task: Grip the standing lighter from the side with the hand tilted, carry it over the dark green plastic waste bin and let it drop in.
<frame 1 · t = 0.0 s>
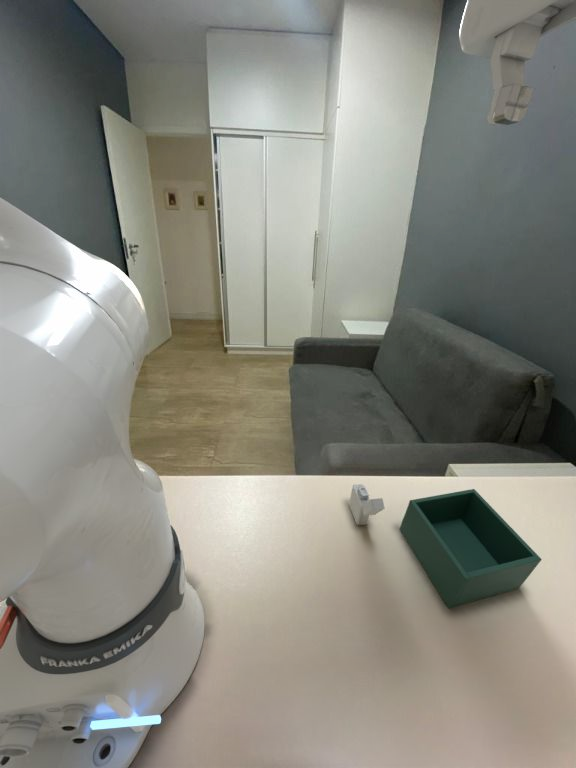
hand: (573, 104, 17), 48 cm above the table, tool pointing down, fingers open, 8 cm apart
bin: (454, 556, 44), on the table
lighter: (360, 522, 49), on the table
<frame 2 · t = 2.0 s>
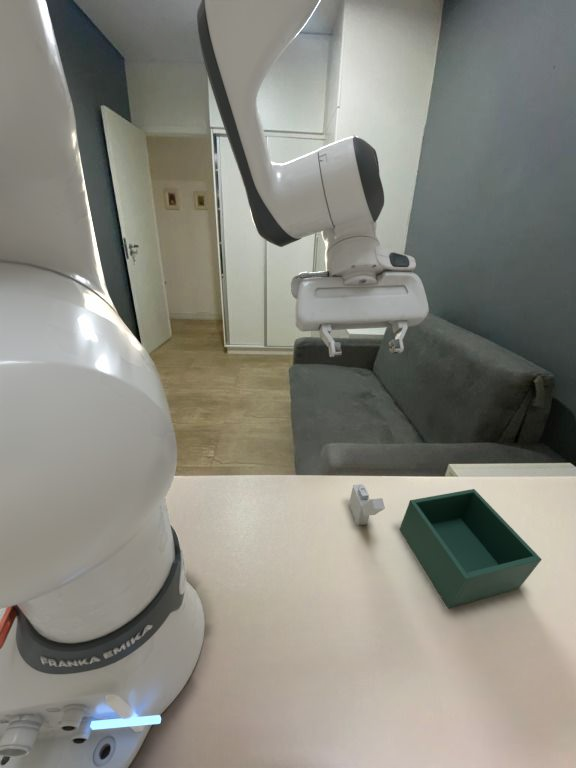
hand: (366, 354, 46), 24 cm above the table, tool tilted 45°, fingers open, 8 cm apart
nothing on the table moved.
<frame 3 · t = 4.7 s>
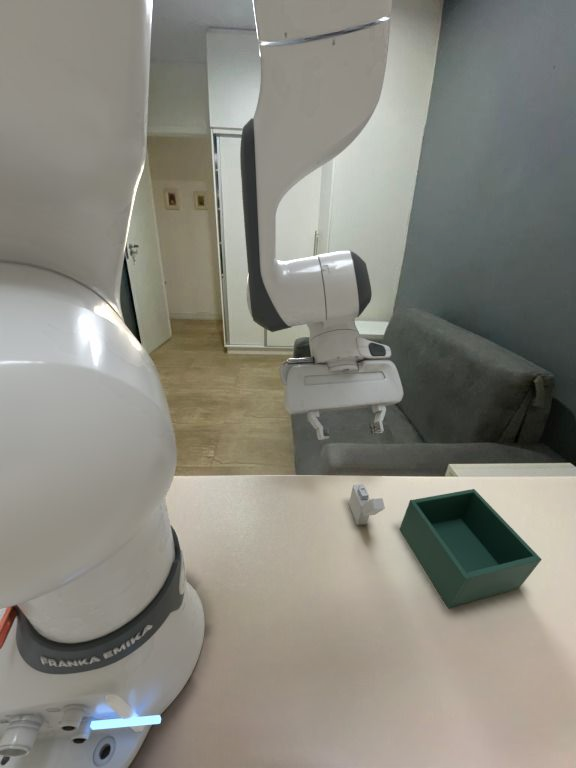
hand: (351, 436, 50), 11 cm above the table, tool tilted 45°, fingers open, 8 cm apart
nothing on the table moved.
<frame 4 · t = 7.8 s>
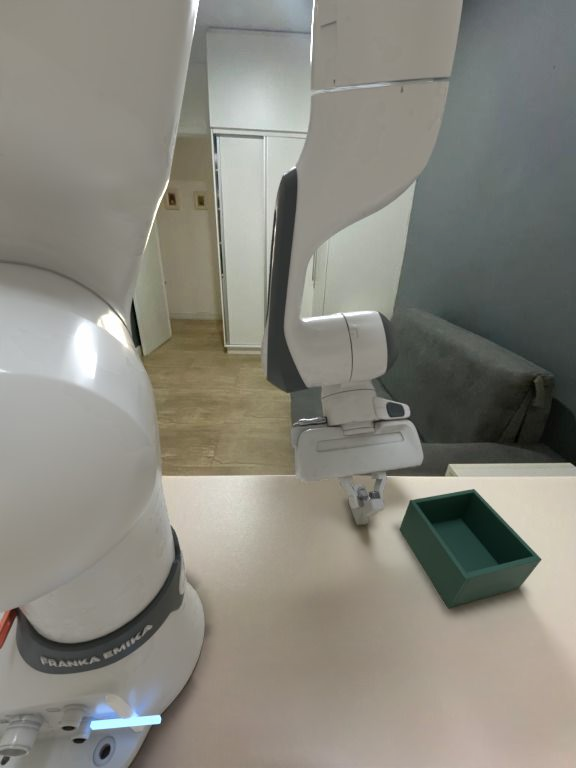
hand: (367, 505, 46), 4 cm above the table, tool tilted 45°, fingers closed on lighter, 2 cm apart
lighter: (360, 522, 49), on the table, touching gripper
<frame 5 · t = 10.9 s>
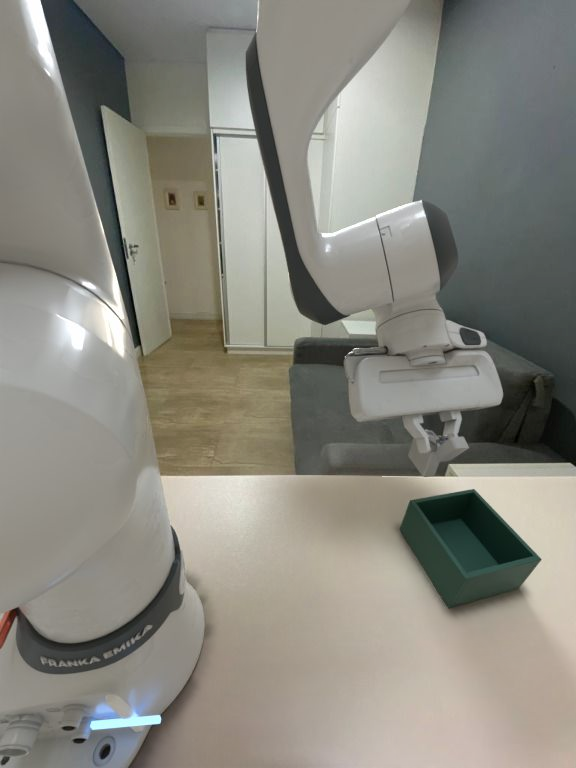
hand: (440, 451, 38), 17 cm above the table, tool tilted 45°, fingers closed on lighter
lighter: (426, 474, 40), point 13 cm above the table, touching gripper
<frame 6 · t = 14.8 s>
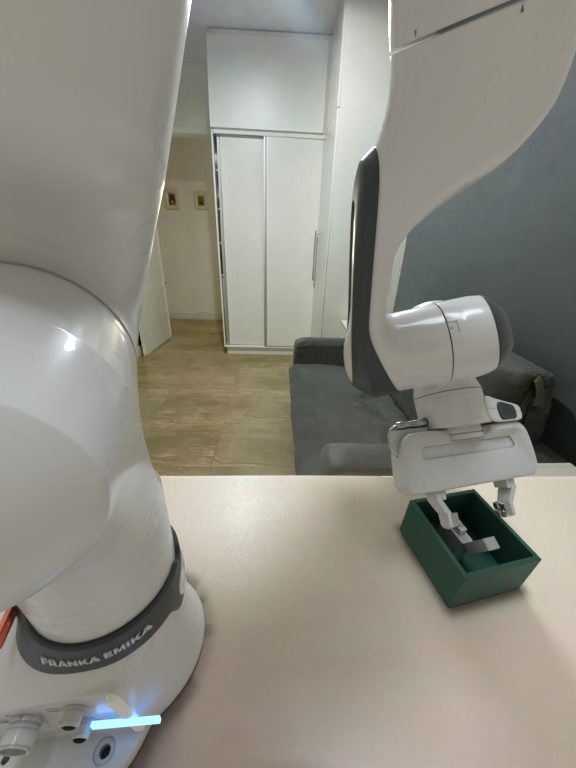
hand: (479, 521, 40), 8 cm above the table, tool tilted 45°, fingers open, 7 cm apart
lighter: (454, 558, 44), resting on bin
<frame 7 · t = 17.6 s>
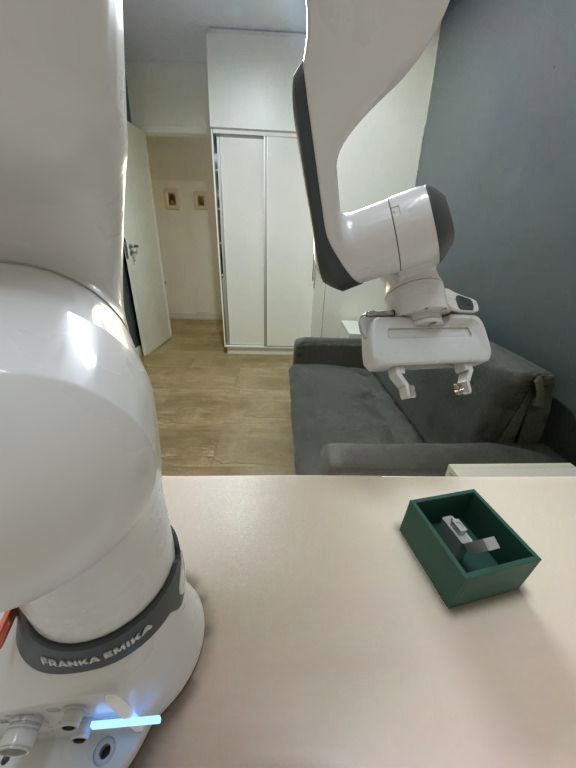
hand: (437, 396, 45), 19 cm above the table, tool tilted 45°, fingers open, 8 cm apart
nothing on the table moved.
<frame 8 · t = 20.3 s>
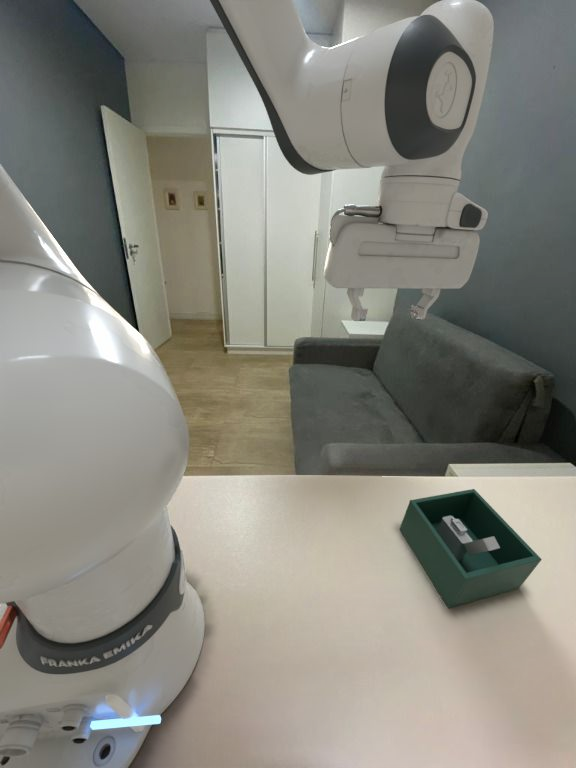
hand: (388, 319, 44), 29 cm above the table, tool pointing down, fingers open, 8 cm apart
nothing on the table moved.
at the end: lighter inside the target area in the bin (0.6 cm from its centre), point 0.3 cm above the bin's base; the gripper is holding nothing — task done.
